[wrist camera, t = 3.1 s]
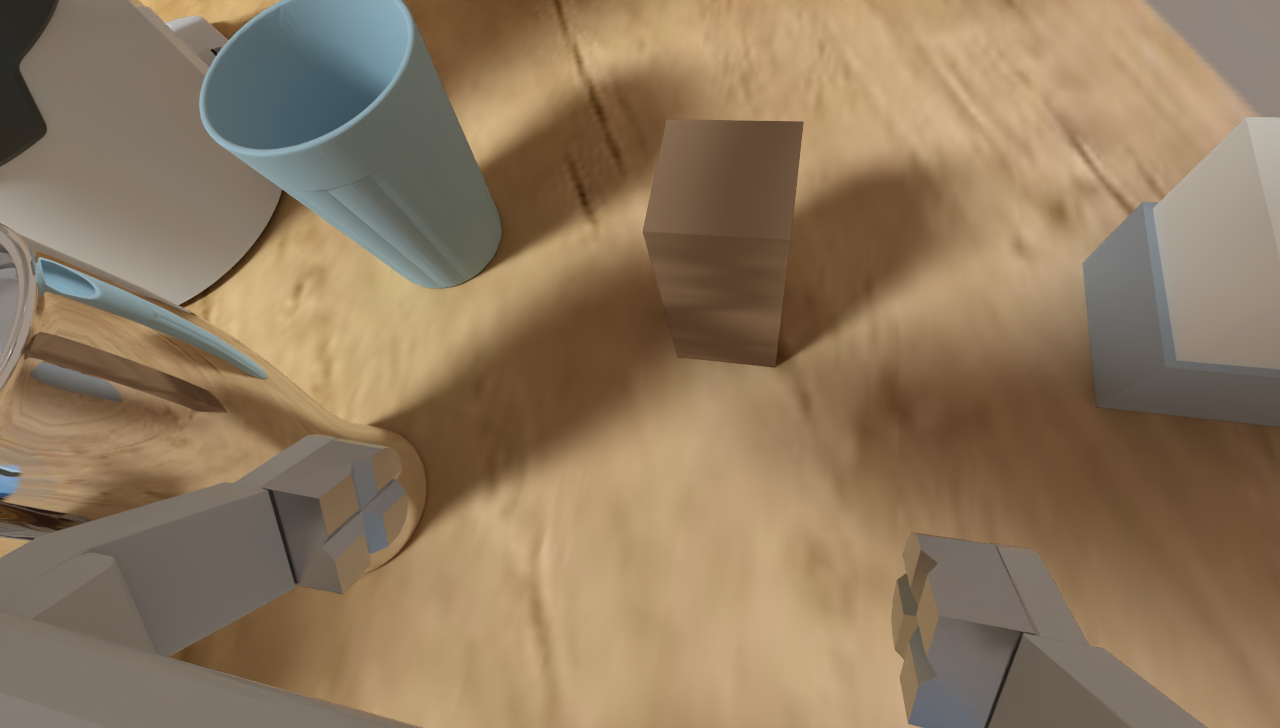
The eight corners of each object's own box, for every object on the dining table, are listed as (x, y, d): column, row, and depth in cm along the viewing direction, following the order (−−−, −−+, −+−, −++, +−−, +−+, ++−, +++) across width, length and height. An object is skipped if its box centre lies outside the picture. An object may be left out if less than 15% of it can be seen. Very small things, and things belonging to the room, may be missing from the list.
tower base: (1093, 408, 21) (1165, 367, 18) (1080, 265, 23) (1142, 201, 20) (1295, 430, 20) (1418, 390, 16) (1262, 276, 22) (1364, 211, 18)
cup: (539, 175, 29) (438, -29, 20) (508, 312, 27) (374, 151, 17) (403, 177, 31) (249, -12, 21) (360, 307, 28) (162, 156, 19)
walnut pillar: (677, 356, 24) (642, 231, 16) (691, 273, 26) (666, 119, 18) (775, 367, 24) (790, 240, 15) (784, 280, 25) (803, 121, 17)
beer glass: (371, 389, 26) (-33, 154, 13) (471, 486, 24) (102, 324, 10) (252, 512, 25) (-345, 398, 11) (345, 630, 22) (-279, 664, 9)
